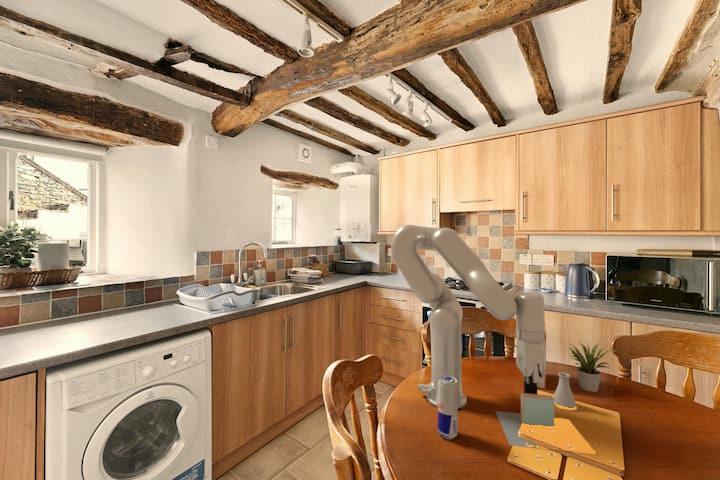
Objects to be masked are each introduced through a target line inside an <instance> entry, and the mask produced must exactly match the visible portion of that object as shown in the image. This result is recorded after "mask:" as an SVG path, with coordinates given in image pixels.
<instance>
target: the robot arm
mask: <svg viewBox="0 0 720 480" xmlns="http://www.w3.org/2000/svg"><path fill="white" fill-rule="evenodd" d="M418 250H422V251H423V250H424V251H431V252H437V253H438V254H439V255H440V256H441V257H442V258H443V260H444V261H445V262H446V263H447V264H448V265H449V266H450V267H451V268H452V270H453V271H454V272H455V273H456V274H457V276H459V278H460V279H461V281H462V282H463V283H464V285H466V286H467V288H468V289H469V290H470V291H471V293H472V294H473V295H474V296H475V298H476V299H477V300H478V301H479V302H480V303H481V305H483V306H484V308H485V309H486V310H487V311H488V312H489V313H490V314H491V316H492V317H494V318H495V319H498V320H499V321H509V320H511V319H513V318H514V317H515V338H516V340H517V341H516V355H515V356H516V357H515V358H516V359H515V364H516V367H517V368H518V369H519V371H520V372H521V373H522V374H523V393H528V394H538V388H537V385H538V383H539V377H540V378H542V377H543V375H544V360H543V348H542V343H544V342H545V326H546V322H545V320H546V319H545V317H546V316H545V298H544V296H543V295H542V294H540V293H536V292H527V291H526V292H525V291H524V292H518V291H517V292H516V291H509V290H505V289H504V288H503V287H502V286H501V285H500V284H499V282H498V281H497V280H496V279H495V278H494V276H493V275H492V274H491V272H490V271H489V270H488V268H487V266H486V265H485V263H484V262H483V261H482V260H481V258H480V257H479V256H478V255H477V254H476V253H475V252H474V250H472V248H471V247H469V245H468V244H467V243H466V242H465V241H464V240H463V239H462V238H461V237H460V236H459V233H458V232H457V231H456V230H455V229H453V228H449V227H430V226H420V225H415V224H406V225H402V226H401V227H399V228H398V229H397V230H396V232H395V233H394V235H393V237H392V240H391V246H390V252H391V255H392V259H393V262H394V263H395V265H396V267H397V269H399V272H400V273H401V274H402V277H403V278H404V280H405V281H406V282H407V284H408V285H409V287H410V288H411V290H412V291H413V294H414V295H415V297H416V298H417V300H418V301H419V302H421V303H423V304H425V305H427V304H428V305H429V307H430V309H431V310H432V311H431V313H430V318H429V328H430V338H431V339H430V343H431V344H430V346H431V347H430V352H431V353H430V354H431V356H430V357H431V367H430V369H431V371H430V372H431V380H430V383H427V384H424V383H417V391H421V394H426V399H427V401H428V402H429V403H430V404H432V406H435V407H437V408H438V378H439V377H440V376H450V377H453V378H455V379H456V380H457V410H460V409H462V408H464V407H465V406H466V405H467V403H468V402H467V400H468V399H467V396H466V395H465V394H464V393H463V392H462V387H463V386H462V380H463V379H462V321H463V316H464V315H463V314H464V313H463V308H462V305H461V304H460V302H459V300H458V299H457V297H456V296H455V295H454V293H453V292H452V290H451V289H450V287H449V286H448V284H447V282H446V281H445V280H444V279H443V277H441V276H440V275H439V274H437V273H433V272H431V270H430V269H429V268H428V266H427V264H426V263H425V261H424V259H423V258H422V257H421V256H420V255H419V253H418Z"/></svg>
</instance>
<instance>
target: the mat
mask: <svg viewBox="0 0 720 480" xmlns="http://www.w3.org/2000/svg"><path fill="white" fill-rule="evenodd" d="M495 413H496V414H495V415H496V416H497V418H498V421H499V422H500V426H501V427H502V430H503V433H504V435H505V437H506V440H507V442H508V445H509V446H515V447H522V448H528V447H527V446H524V445H533V446H534V447H531V449H537V448H536V446H537V445H536V444H535V443H533V442H530V441H529V440H525V439H523V438H521V437H519V436H518V431H519V429H520V427H521V424H522V422H521V413H520V412H519V413H517V412H507V411H498V410H495ZM525 443H528V444H525ZM539 448H540V446H539Z"/></svg>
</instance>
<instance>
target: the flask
mask: <svg viewBox="0 0 720 480" xmlns="http://www.w3.org/2000/svg"><path fill="white" fill-rule="evenodd" d="M558 377H559V378H558V379H559V380H558V385H557V386H556V390H555V391H554V393H553V395H552V397H553V398H554V402H555V403H556V404H558V405H561V406H564V407H568V408H574V407H577V408H578V406H577V402H576V399H575V397H574V394H573V392H572V389H571V385H570V378H571V374H570V373H569V374H568V373H567V372H558Z"/></svg>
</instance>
